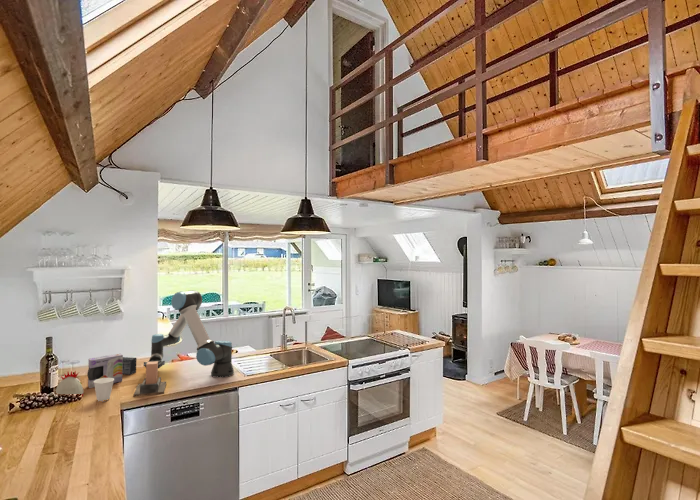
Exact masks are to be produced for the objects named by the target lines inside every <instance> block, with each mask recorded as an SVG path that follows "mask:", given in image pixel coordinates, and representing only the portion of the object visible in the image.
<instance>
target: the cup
mask: <svg viewBox="0 0 700 500" xmlns="http://www.w3.org/2000/svg"><path fill="white" fill-rule="evenodd" d="M113 381H114V378H101V379H97V380H95V381H94V385H95V387H94V391H95V397H96V401H97V400H98V401H97V402H99V401H102V402H104V401H103V400H107V399H109V400H110V398H111V394H112V389H113V385H114V383H113ZM107 401H108V400H107Z"/></svg>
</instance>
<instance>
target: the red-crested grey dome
mask: <svg viewBox="0 0 700 500" xmlns="http://www.w3.org/2000/svg"><path fill="white" fill-rule="evenodd" d="M76 372H77V371H76V370H74V373H73V371H72V370H71V371H70V373H69V371H67V374H66V373H64V375H63V376H64V377H63V376H62V375H61V376H60V377H61V379H62V380H61V381H59V383H58V384H57V386H56V388H55V391H56V393H58V394H81V395H82V397H84V388H83V384H82V381H80V380H79V379H78V378H77V377H78V375H79V373H80V372H77V373H76Z"/></svg>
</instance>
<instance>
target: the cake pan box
mask: <svg viewBox="0 0 700 500" xmlns="http://www.w3.org/2000/svg"><path fill="white" fill-rule="evenodd" d="M123 357H124V356H123V354H122V353H116V354H109V355H102V356H97V357H92V358H88V362H87V363H88V364H87V365H88V370H87V372H86V373H87V387H88V388H89V389H93V388H95V385H94V381H95V380H97V379H101V378H114V381H113V384H115V383H116V384H117V383H120V382H123V375H122V370H123Z"/></svg>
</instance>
